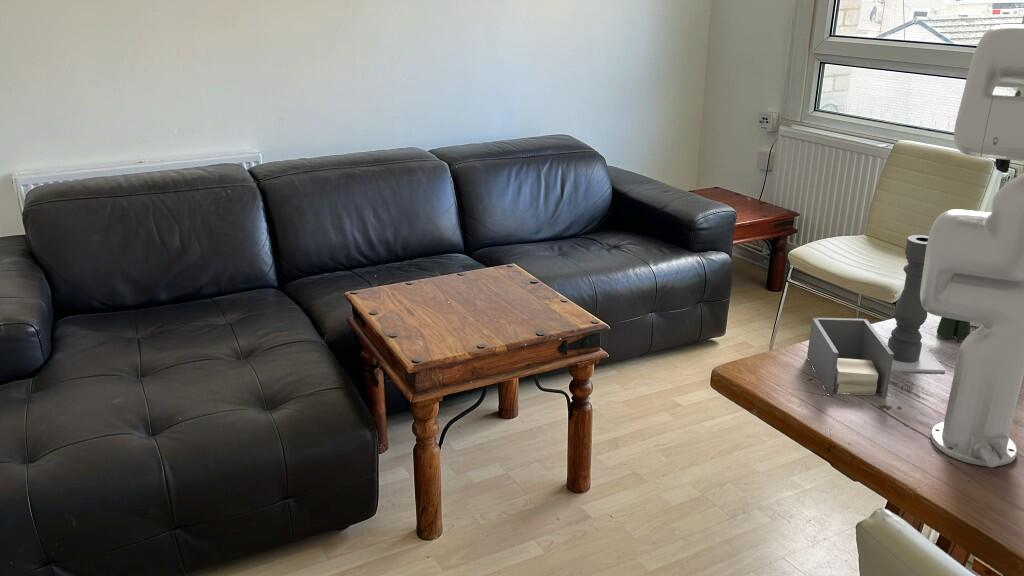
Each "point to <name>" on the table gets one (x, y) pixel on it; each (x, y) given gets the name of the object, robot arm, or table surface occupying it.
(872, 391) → the block
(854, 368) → the upper offcut
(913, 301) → the candle holder
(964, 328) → the character mug
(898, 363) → the mat
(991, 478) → the table surface
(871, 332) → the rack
